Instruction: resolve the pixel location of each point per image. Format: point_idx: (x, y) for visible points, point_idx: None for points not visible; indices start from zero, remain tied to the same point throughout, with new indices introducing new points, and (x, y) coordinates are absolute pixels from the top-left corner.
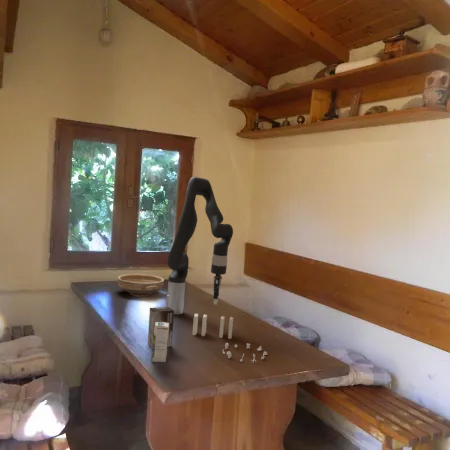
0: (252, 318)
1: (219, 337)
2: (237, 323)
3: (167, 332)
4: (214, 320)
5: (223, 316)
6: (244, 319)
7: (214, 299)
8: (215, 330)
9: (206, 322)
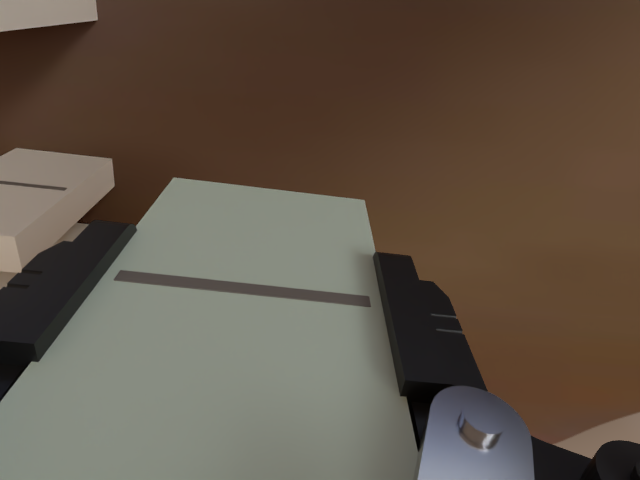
0: (593, 411)
1: (15, 151)
2: (460, 313)
3: None
4: (550, 132)
5: (6, 261)
6: (571, 365)
7: (141, 230)
8: (218, 126)
9: (34, 26)
